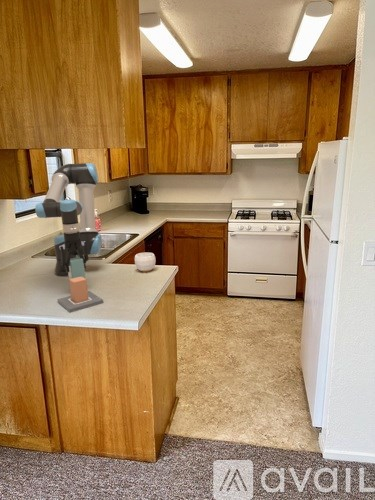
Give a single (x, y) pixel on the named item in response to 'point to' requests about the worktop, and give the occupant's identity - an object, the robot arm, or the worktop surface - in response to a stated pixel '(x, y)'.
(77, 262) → the teal block
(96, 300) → the base plate
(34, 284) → the worktop surface
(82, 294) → the terracotta block
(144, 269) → the cup
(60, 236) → the robot arm
